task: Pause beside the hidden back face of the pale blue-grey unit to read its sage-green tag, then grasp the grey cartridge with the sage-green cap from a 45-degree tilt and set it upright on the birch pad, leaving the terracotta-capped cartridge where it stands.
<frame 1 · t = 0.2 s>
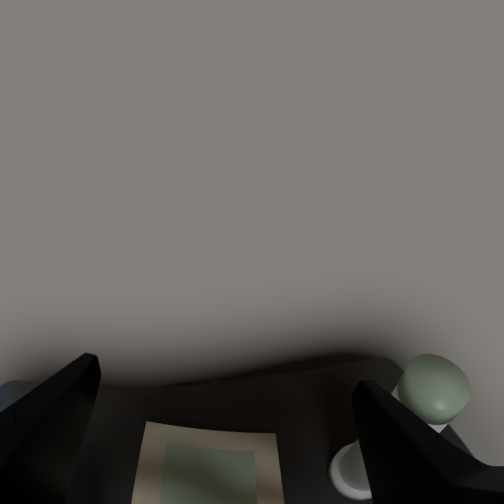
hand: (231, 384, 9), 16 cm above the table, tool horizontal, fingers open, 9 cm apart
pad: (208, 490, 17), on the table
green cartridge: (359, 473, 19), on the table
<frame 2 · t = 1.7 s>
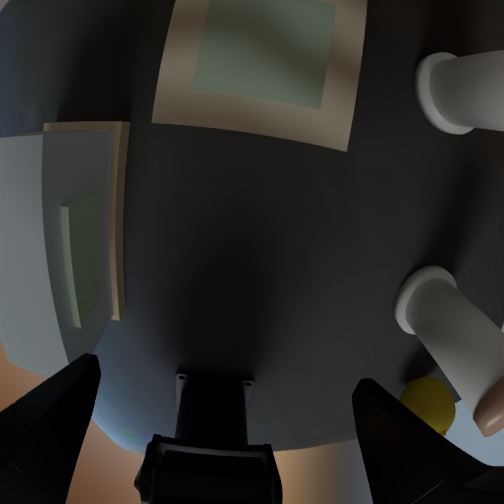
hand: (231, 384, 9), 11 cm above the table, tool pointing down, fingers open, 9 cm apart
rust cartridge: (423, 298, 22), on the table
pad: (264, 46, 14), on the table
lemon: (410, 379, 26), on the table
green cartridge: (446, 93, 15), on the table
unit: (86, 220, 18), on the table
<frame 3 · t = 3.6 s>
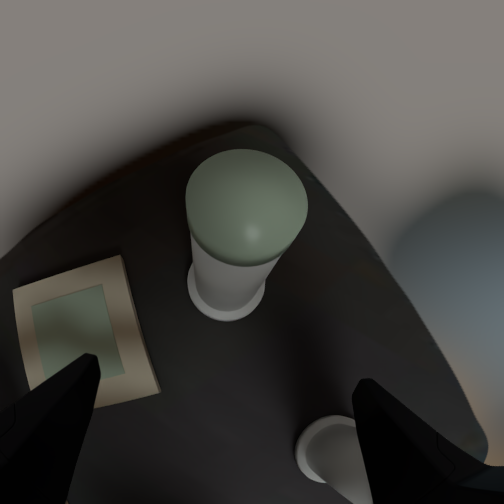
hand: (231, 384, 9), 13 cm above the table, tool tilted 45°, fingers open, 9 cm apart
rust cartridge: (329, 448, 20), on the table
pad: (79, 340, 20), on the table
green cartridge: (225, 284, 24), on the table
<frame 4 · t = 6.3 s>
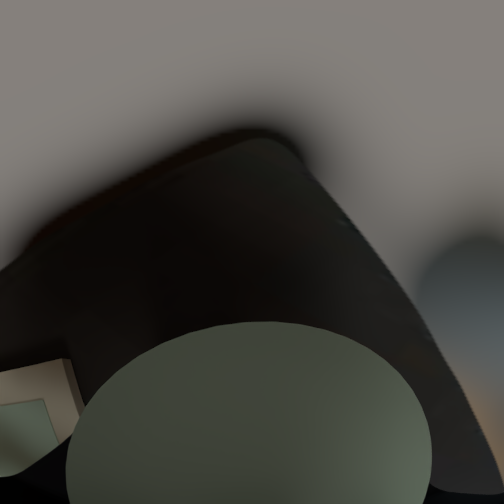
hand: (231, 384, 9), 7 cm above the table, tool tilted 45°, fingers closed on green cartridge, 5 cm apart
pad: (31, 457, 11), on the table
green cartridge: (218, 402, 14), on the table, touching gripper
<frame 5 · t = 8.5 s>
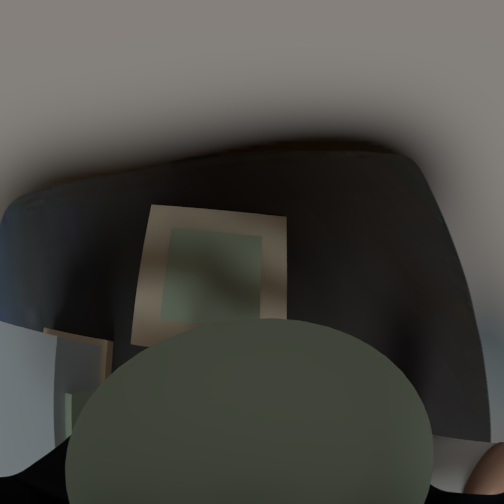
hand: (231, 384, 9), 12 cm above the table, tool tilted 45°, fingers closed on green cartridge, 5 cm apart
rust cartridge: (392, 453, 19), on the table
pad: (212, 280, 23), on the table
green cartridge: (219, 401, 14), point 6 cm above the table, touching gripper
unit: (77, 415, 17), on the table
when the fingers open (9 cm above the table, at t = 10.9 s): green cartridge drops 1 cm, resting on pad.
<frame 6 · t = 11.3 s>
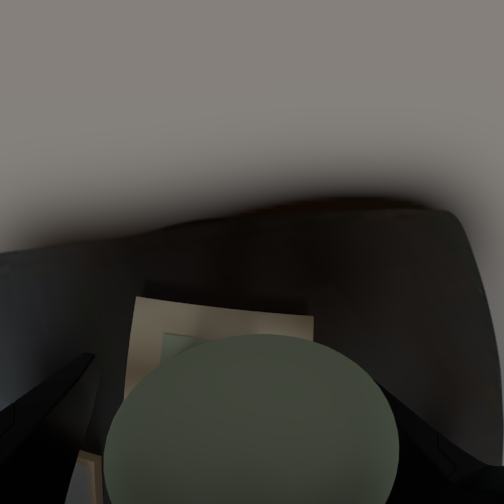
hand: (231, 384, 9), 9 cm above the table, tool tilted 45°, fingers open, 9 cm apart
pad: (217, 397, 17), on the table
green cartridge: (217, 401, 15), point 1 cm above the table, touching pad
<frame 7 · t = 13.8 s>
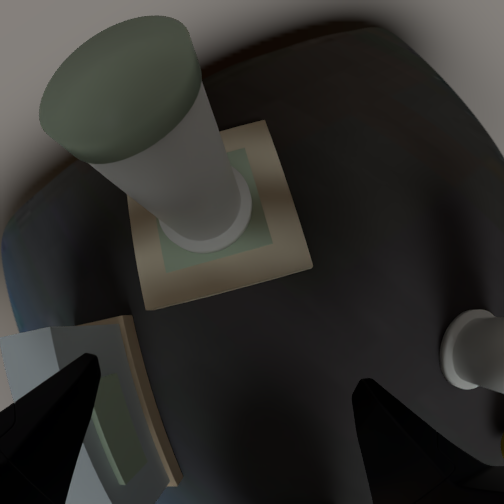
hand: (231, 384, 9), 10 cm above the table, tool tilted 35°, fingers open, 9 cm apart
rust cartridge: (469, 348, 17), on the table
pad: (210, 213, 20), on the table
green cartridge: (205, 208, 19), point 1 cm above the table, touching pad
unit: (123, 405, 18), on the table
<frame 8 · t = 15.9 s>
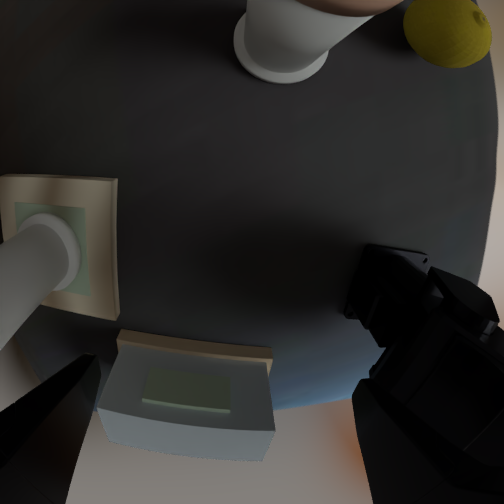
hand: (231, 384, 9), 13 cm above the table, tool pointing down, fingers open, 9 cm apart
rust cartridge: (280, 43, 16), on the table
pad: (57, 243, 20), on the table
lemon: (414, 41, 16), on the table
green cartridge: (50, 249, 19), point 1 cm above the table, touching pad
unit: (193, 363, 25), on the table
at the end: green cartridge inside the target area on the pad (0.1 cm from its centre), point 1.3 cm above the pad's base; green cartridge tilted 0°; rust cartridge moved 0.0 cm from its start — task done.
